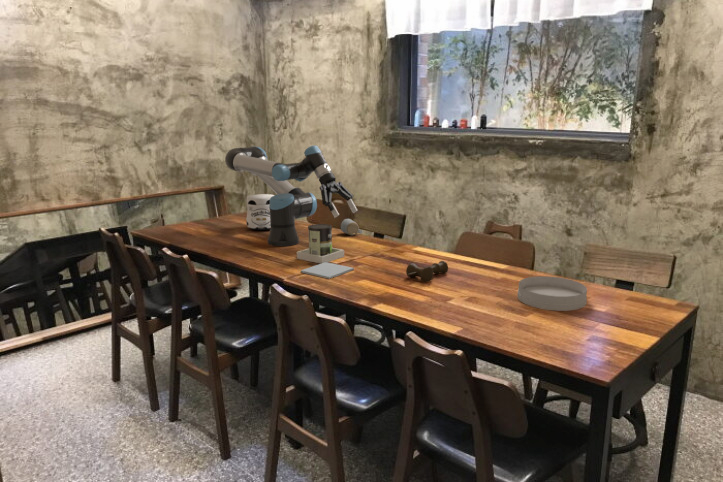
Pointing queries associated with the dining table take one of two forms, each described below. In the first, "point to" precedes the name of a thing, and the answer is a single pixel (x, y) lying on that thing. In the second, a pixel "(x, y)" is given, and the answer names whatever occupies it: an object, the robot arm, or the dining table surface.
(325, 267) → the mat
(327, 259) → the frame
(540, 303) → the dish
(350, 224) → the ceramic mug
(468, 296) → the dining table surface
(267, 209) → the milk container
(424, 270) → the kendama
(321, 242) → the coffee can
